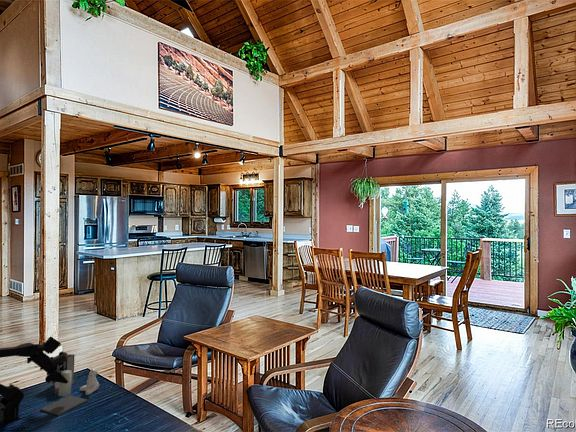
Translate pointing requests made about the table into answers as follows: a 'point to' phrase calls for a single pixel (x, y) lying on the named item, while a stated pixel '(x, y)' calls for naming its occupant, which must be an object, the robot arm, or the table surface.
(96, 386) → the sitting furry creature
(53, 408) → the mat
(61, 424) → the table surface
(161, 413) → the table surface
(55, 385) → the tin
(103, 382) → the table surface
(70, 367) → the coffee box
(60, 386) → the light bulb
